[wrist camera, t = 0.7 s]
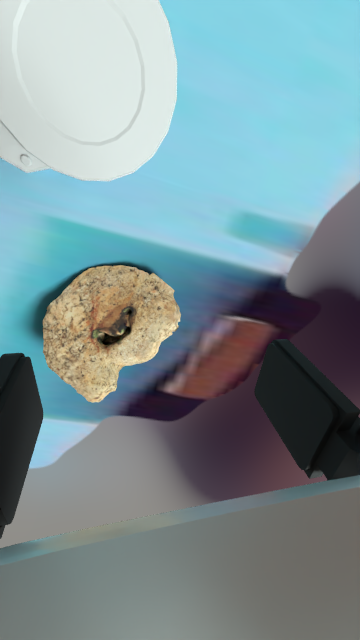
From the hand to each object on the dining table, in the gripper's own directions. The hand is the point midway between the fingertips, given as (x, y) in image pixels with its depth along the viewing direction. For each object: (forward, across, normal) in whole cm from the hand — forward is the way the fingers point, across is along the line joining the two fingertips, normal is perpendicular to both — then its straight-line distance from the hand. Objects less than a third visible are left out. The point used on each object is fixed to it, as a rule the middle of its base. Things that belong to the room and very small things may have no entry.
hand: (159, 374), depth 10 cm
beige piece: (+28, +3, +13) cm, 31 cm away
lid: (+27, +5, -14) cm, 31 cm away
